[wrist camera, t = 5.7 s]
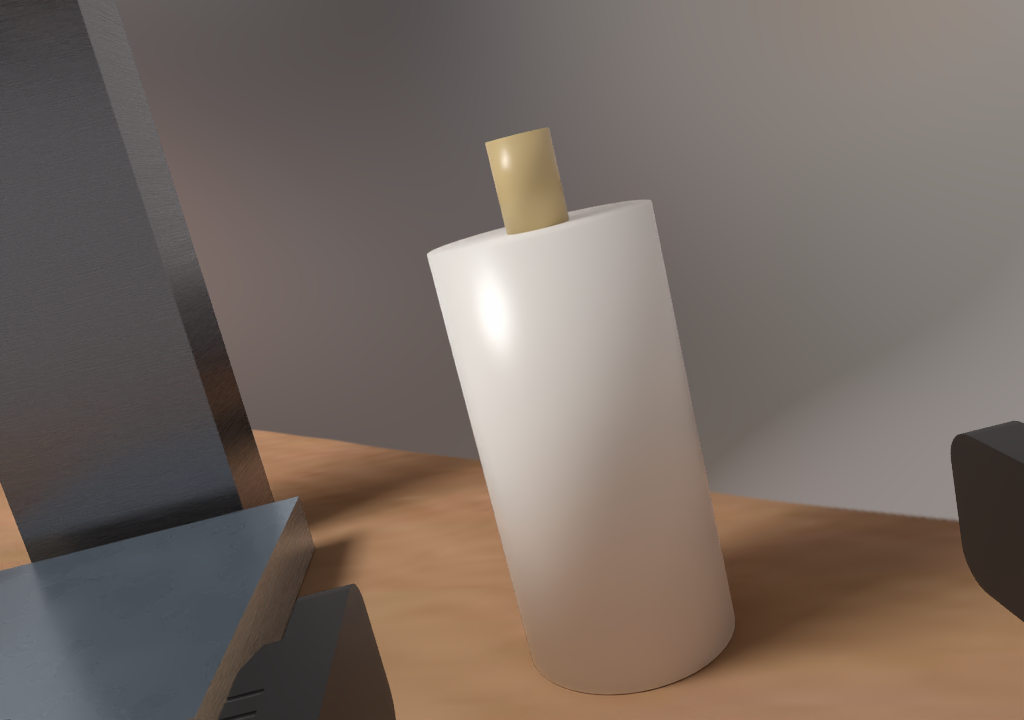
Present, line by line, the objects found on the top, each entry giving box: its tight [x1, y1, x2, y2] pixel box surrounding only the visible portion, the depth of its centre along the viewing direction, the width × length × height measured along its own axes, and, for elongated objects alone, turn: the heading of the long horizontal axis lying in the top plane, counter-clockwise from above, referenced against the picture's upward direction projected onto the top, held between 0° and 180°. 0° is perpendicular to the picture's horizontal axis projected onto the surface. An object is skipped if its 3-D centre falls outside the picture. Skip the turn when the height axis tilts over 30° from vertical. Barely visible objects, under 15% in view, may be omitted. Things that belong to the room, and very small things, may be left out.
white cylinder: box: [427, 127, 735, 695], centre depth 20 cm, size 5×5×12 cm
